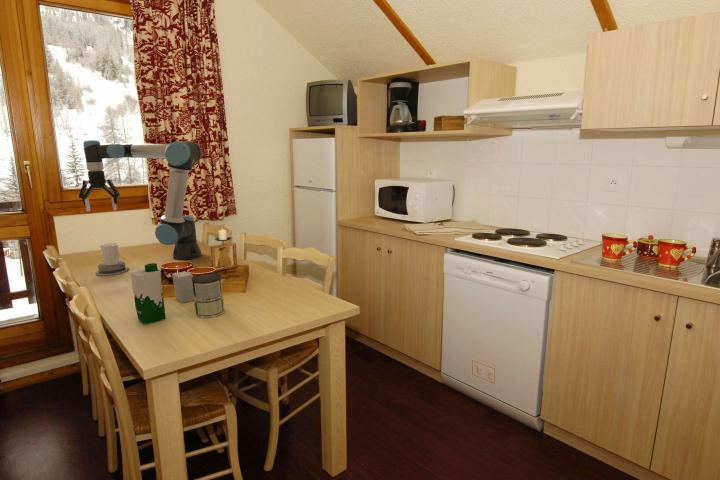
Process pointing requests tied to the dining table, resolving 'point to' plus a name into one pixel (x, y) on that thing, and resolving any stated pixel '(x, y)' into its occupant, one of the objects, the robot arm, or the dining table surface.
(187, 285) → the small box
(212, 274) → the coffee can
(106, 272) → the grey round shallow piece
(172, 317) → the dining table surface
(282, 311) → the dining table surface
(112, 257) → the white cup
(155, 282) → the milk carton
